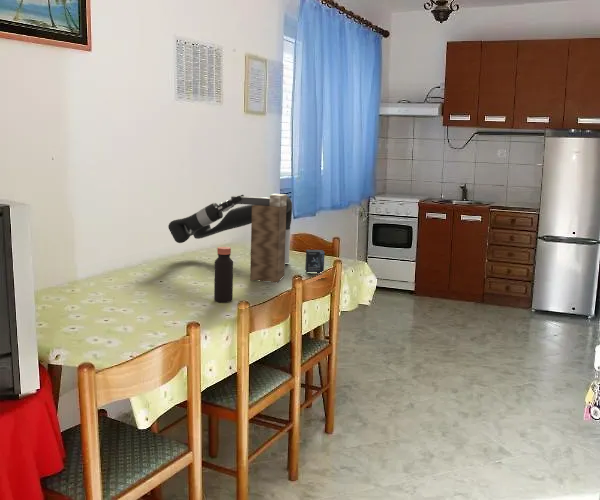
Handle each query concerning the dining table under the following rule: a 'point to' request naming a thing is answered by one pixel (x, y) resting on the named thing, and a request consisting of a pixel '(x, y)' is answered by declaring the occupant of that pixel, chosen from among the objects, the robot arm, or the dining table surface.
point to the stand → (268, 239)
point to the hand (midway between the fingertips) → (242, 197)
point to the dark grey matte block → (253, 200)
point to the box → (314, 261)
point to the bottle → (223, 276)
